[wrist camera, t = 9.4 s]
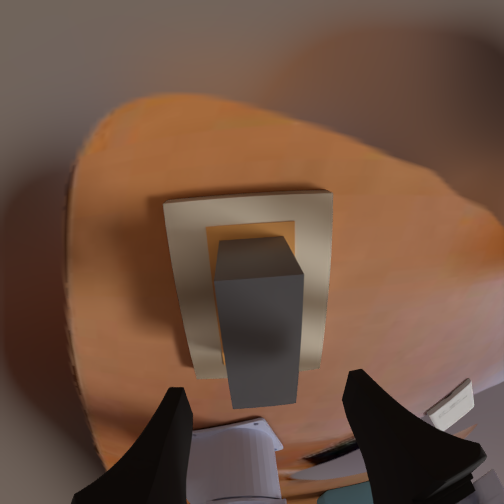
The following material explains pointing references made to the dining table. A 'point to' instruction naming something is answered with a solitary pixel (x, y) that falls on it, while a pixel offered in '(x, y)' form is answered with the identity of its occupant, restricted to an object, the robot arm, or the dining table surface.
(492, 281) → the dining table surface
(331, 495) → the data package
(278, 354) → the block
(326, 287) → the board
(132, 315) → the dining table surface
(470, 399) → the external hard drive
